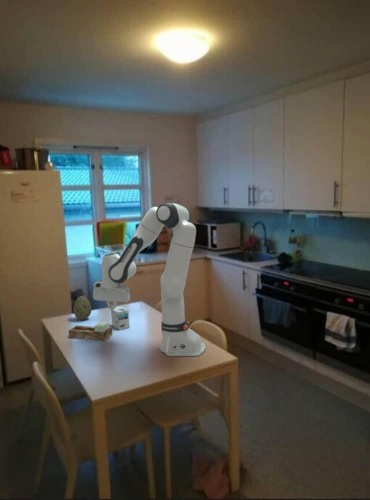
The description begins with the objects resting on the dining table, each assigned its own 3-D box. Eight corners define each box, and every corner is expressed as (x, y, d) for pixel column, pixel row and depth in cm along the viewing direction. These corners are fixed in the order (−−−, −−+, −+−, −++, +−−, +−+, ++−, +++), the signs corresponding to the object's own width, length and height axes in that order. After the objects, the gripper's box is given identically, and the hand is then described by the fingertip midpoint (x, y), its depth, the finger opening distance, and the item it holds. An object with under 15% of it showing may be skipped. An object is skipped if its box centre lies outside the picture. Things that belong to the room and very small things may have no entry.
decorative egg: (84, 323, 232) (82, 299, 230) (70, 321, 237) (68, 297, 235) (95, 317, 242) (94, 294, 240) (82, 315, 247) (80, 293, 244)
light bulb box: (129, 328, 222) (128, 310, 220) (119, 330, 218) (118, 312, 216) (122, 323, 231) (121, 305, 229) (111, 325, 227) (110, 307, 225)
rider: (109, 331, 211) (108, 322, 210) (103, 335, 205) (102, 326, 204) (101, 330, 213) (100, 321, 212) (94, 335, 206) (94, 326, 205)
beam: (112, 334, 212) (112, 327, 211) (105, 340, 204) (105, 333, 203) (76, 332, 217) (76, 325, 217) (69, 337, 210) (68, 330, 209)
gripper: (131, 283, 203) (132, 308, 205) (96, 281, 208) (97, 305, 210) (126, 286, 197) (127, 312, 199) (90, 284, 202) (92, 309, 204)
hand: (112, 308), depth 205 cm, fingers closed
